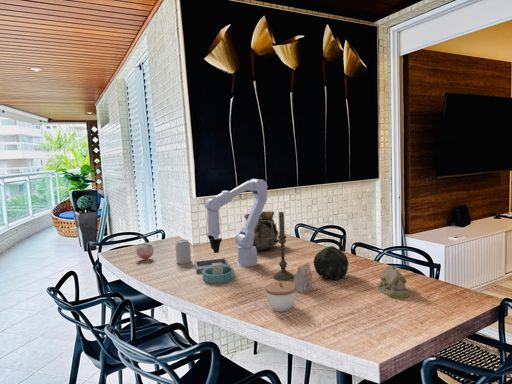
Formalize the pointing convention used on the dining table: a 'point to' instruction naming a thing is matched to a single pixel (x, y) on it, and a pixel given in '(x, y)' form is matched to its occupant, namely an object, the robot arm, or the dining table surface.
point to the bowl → (216, 279)
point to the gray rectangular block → (217, 268)
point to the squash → (331, 263)
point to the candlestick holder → (282, 252)
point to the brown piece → (265, 231)
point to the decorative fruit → (145, 251)
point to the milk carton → (303, 278)
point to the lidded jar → (281, 295)
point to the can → (183, 252)
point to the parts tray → (209, 264)
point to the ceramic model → (393, 283)
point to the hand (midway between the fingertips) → (215, 250)
